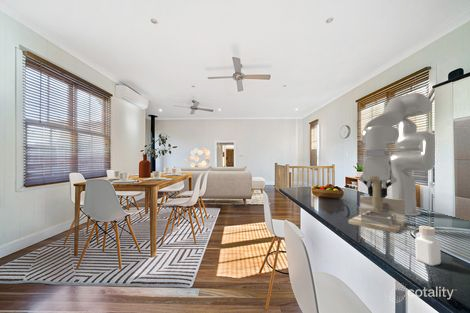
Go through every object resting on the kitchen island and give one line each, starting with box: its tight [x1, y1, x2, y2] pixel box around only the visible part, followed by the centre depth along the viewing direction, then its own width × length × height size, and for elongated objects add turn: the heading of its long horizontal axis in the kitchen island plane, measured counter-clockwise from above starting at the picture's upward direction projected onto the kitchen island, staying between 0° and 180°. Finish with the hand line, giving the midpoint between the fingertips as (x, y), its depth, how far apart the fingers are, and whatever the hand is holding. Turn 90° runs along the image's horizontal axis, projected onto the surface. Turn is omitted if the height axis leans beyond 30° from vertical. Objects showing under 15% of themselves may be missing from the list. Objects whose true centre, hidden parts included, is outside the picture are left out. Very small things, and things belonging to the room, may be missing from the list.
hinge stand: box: [347, 195, 406, 234], centre depth 91 cm, size 16×17×10 cm
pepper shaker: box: [414, 225, 442, 267], centre depth 57 cm, size 4×4×10 cm
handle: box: [369, 176, 383, 212], centre depth 90 cm, size 5×6×15 cm
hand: (377, 196), depth 90 cm, fingers closed on handle, 4 cm apart
